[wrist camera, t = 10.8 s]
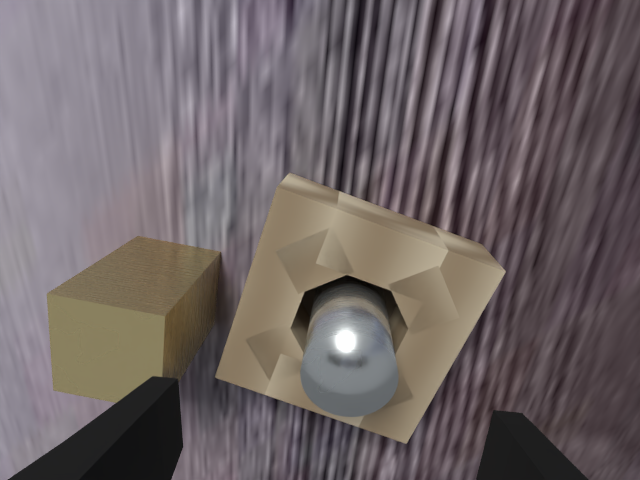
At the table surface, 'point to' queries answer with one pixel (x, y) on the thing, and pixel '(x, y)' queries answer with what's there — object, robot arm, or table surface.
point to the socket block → (368, 265)
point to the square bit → (132, 318)
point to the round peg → (349, 349)
